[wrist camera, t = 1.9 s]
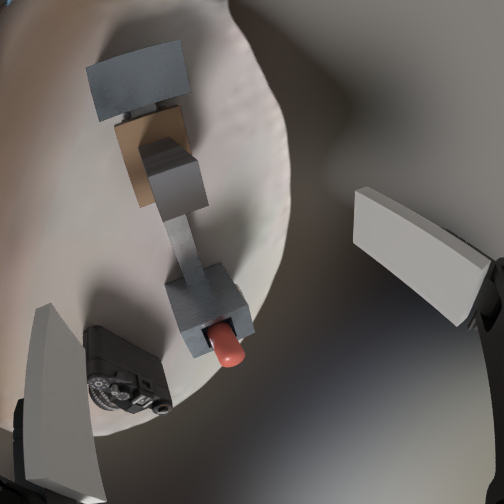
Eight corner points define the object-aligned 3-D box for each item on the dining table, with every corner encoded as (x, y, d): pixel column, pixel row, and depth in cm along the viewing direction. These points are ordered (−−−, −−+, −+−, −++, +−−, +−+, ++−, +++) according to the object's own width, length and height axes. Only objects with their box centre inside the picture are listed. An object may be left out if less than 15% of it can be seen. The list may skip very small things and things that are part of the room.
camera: (59, 359, 36) (58, 413, 28) (94, 318, 35) (97, 375, 28) (128, 390, 45) (139, 438, 37) (168, 357, 44) (184, 407, 37)
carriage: (115, 122, 25) (110, 146, 14) (171, 104, 27) (213, 113, 15) (137, 192, 30) (153, 263, 19) (188, 173, 31) (238, 231, 20)
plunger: (203, 327, 32) (217, 356, 29) (227, 318, 33) (242, 345, 29) (210, 342, 34) (223, 370, 30) (232, 333, 34) (247, 360, 31)
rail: (92, 72, 22) (80, 63, 15) (172, 48, 24) (193, 31, 17) (176, 310, 40) (193, 358, 33) (231, 288, 42) (257, 331, 35)
